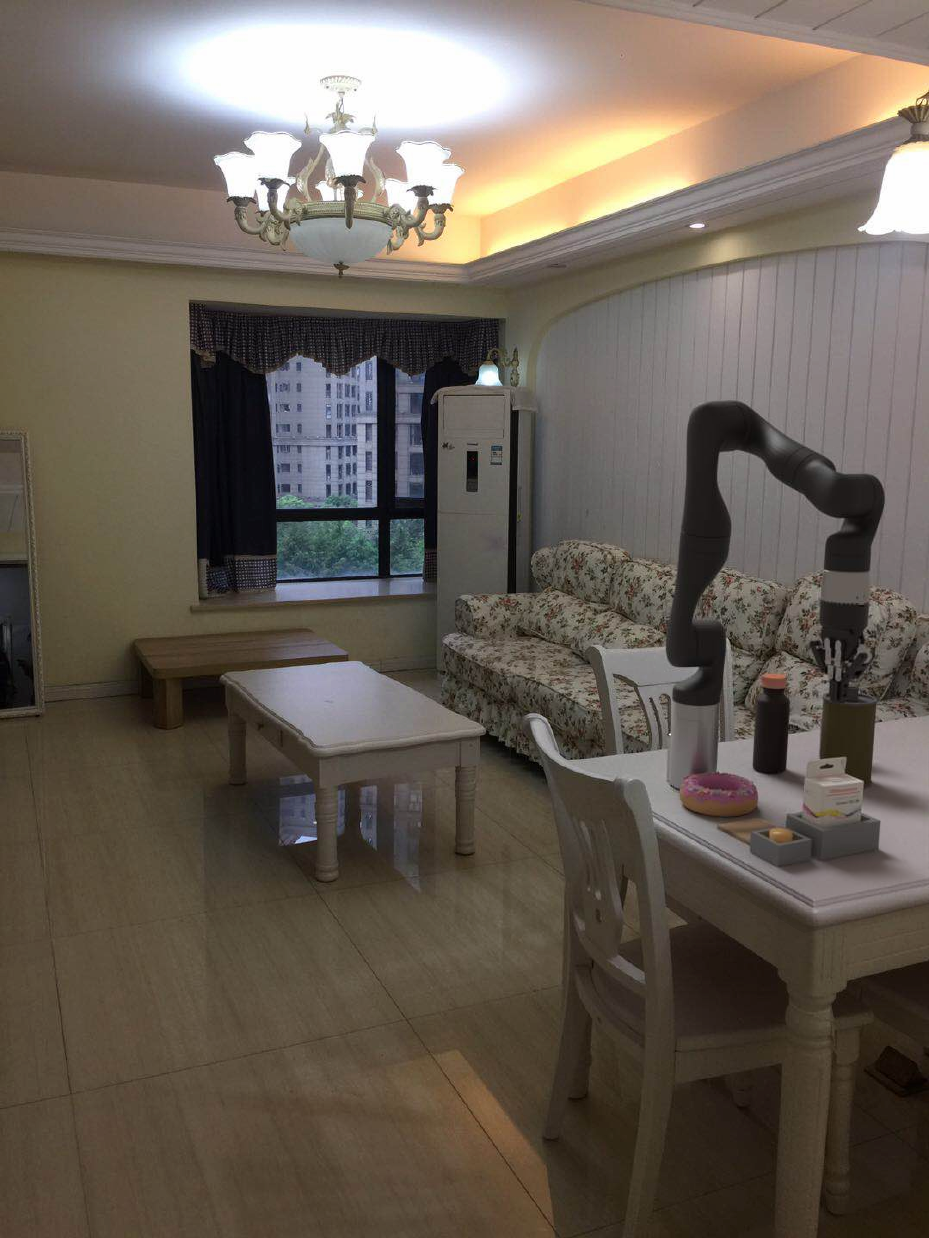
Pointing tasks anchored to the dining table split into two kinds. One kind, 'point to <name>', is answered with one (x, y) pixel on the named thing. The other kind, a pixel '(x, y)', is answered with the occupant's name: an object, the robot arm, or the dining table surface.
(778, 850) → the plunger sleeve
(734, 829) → the walnut pad
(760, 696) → the black water bottle
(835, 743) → the canister
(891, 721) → the dining table surface
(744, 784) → the donut
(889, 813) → the dining table surface
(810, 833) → the gray open bin
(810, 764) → the ink cartridge box
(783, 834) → the egg
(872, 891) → the dining table surface
